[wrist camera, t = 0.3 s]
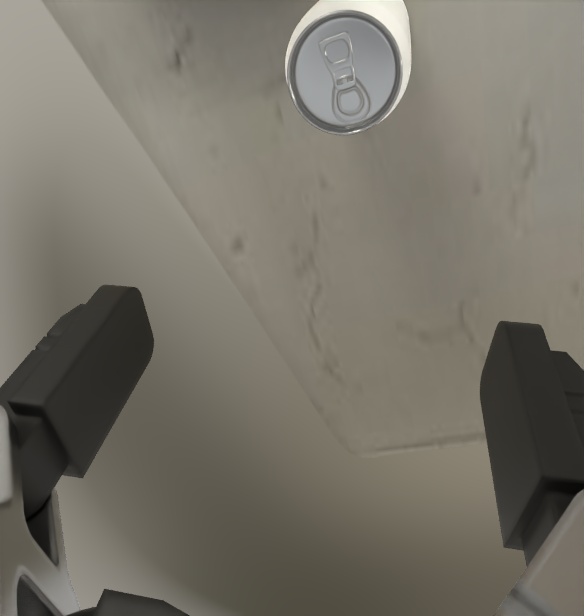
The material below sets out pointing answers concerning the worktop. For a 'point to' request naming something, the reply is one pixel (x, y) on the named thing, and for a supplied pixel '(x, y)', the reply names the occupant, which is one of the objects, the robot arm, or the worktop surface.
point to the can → (349, 63)
